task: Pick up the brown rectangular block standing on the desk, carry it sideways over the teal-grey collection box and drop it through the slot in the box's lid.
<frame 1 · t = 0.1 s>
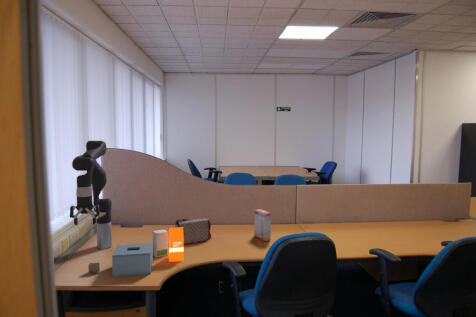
hand: (85, 224, 167), 29 cm above the table, fingers open, 8 cm apart
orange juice: (176, 259, 195), on the table
collection box: (133, 269, 179), on the table
handbag: (194, 241, 228), on the table
cracker box: (262, 238, 236), on the table
skincare box: (160, 255, 201), on the table
brown rectangular block: (94, 272, 174), on the table
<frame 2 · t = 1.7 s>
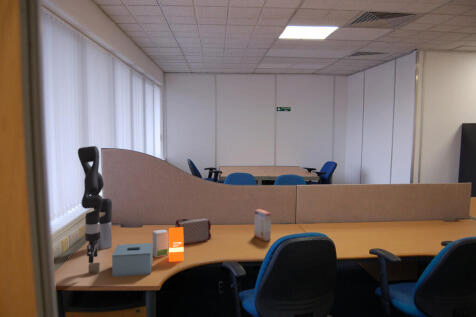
hand: (93, 259, 173), 8 cm above the table, fingers open, 8 cm apart
nothing on the table moved.
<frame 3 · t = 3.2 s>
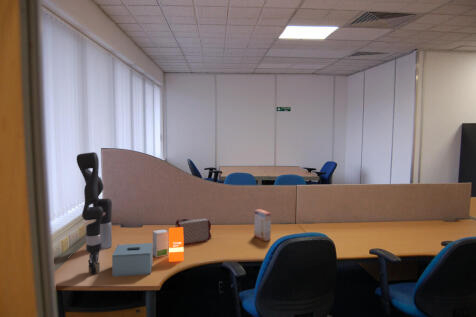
hand: (94, 272, 174), 0 cm above the table, fingers closed on brown rectangular block, 2 cm apart
brown rectangular block: (94, 272, 174), on the table, touching gripper
everything else where it was.
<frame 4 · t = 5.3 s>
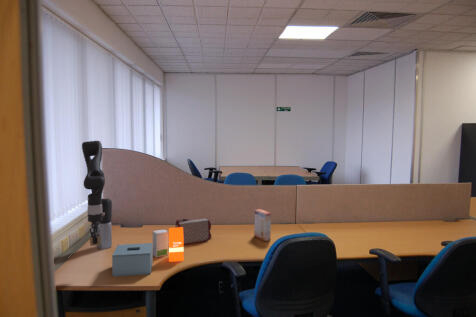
hand: (95, 242, 173), 17 cm above the table, fingers closed on brown rectangular block, 2 cm apart
brown rectangular block: (95, 244, 173), point 16 cm above the table, touching gripper
everything else where it was.
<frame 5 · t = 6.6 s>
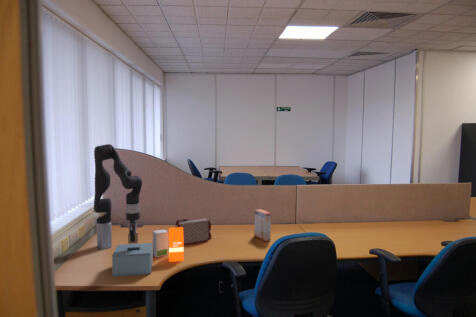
hand: (133, 240, 178), 17 cm above the table, fingers closed on brown rectangular block, 2 cm apart
brown rectangular block: (133, 242, 178), point 16 cm above the table, touching gripper
everything else where it was.
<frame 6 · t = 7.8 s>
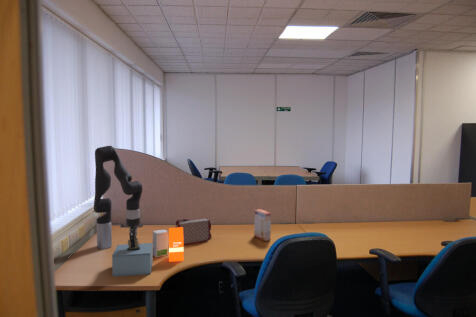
hand: (133, 246, 178), 14 cm above the table, fingers closed on brown rectangular block, 3 cm apart
brown rectangular block: (134, 247, 179), point 13 cm above the table, tilted 13°, touching gripper
everything else where it was.
when the fingers open (14 cm above the table, at t = 7.8 s): brown rectangular block drops 12 cm, resting on collection box.
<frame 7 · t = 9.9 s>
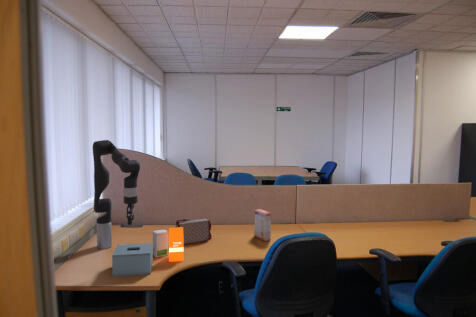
hand: (130, 222, 180), 27 cm above the table, fingers open, 8 cm apart
brown rectangular block: (135, 267, 180), point 1 cm above the table, touching collection box
everything else where it was.
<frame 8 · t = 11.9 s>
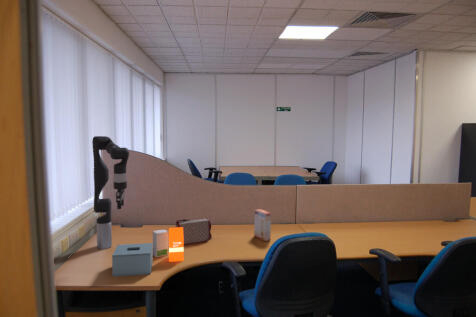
hand: (120, 207, 189), 33 cm above the table, fingers open, 8 cm apart
nothing on the table moved.
at the end: brown rectangular block inside the target area on the collection box (0.7 cm from its centre), point 1.0 cm above the collection box's base; the gripper is holding nothing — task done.
